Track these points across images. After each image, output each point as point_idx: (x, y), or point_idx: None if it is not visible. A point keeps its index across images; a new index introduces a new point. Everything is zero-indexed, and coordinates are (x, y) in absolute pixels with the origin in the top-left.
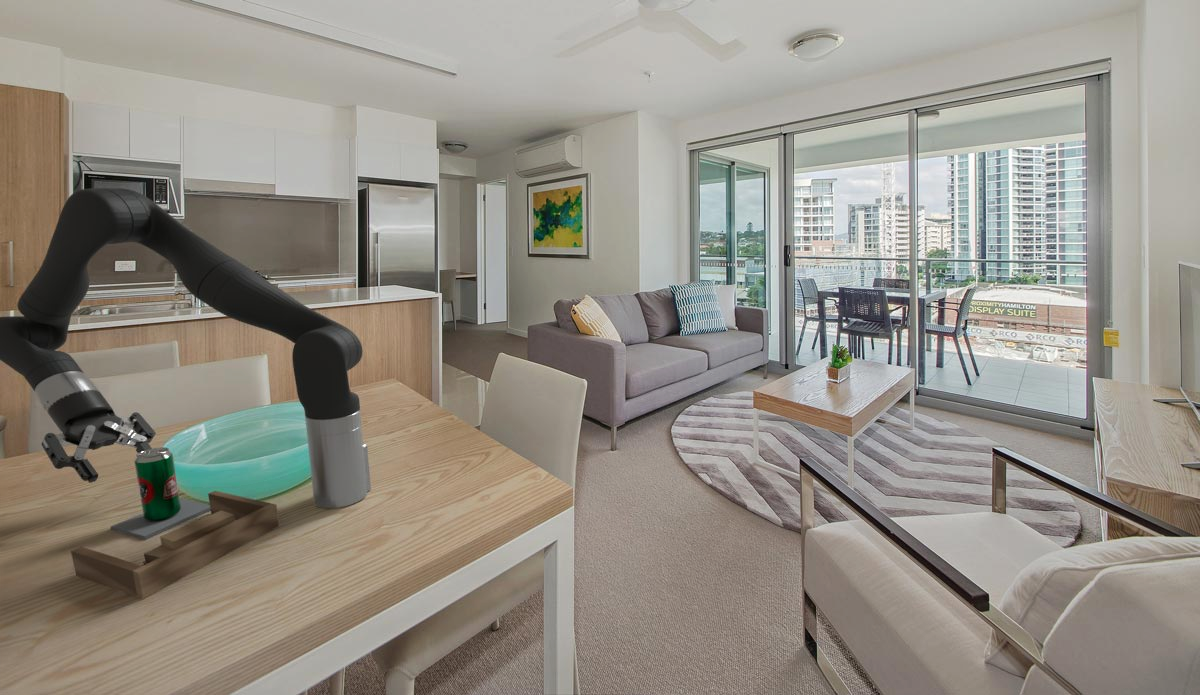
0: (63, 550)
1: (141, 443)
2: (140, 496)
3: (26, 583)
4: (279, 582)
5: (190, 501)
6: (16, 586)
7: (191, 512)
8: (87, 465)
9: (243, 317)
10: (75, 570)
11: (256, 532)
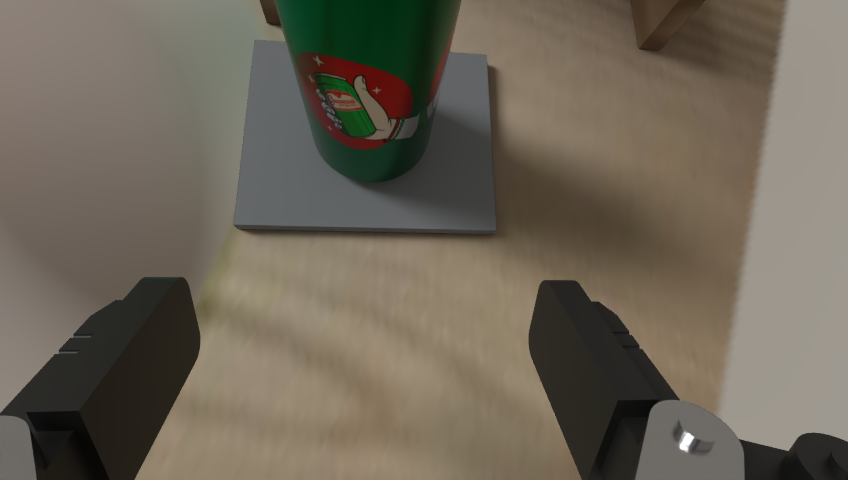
0: (627, 230)
1: (66, 401)
2: (438, 94)
3: (735, 127)
4: None
5: (248, 154)
6: (752, 135)
7: None
8: (610, 346)
9: None
10: (669, 36)
11: None
